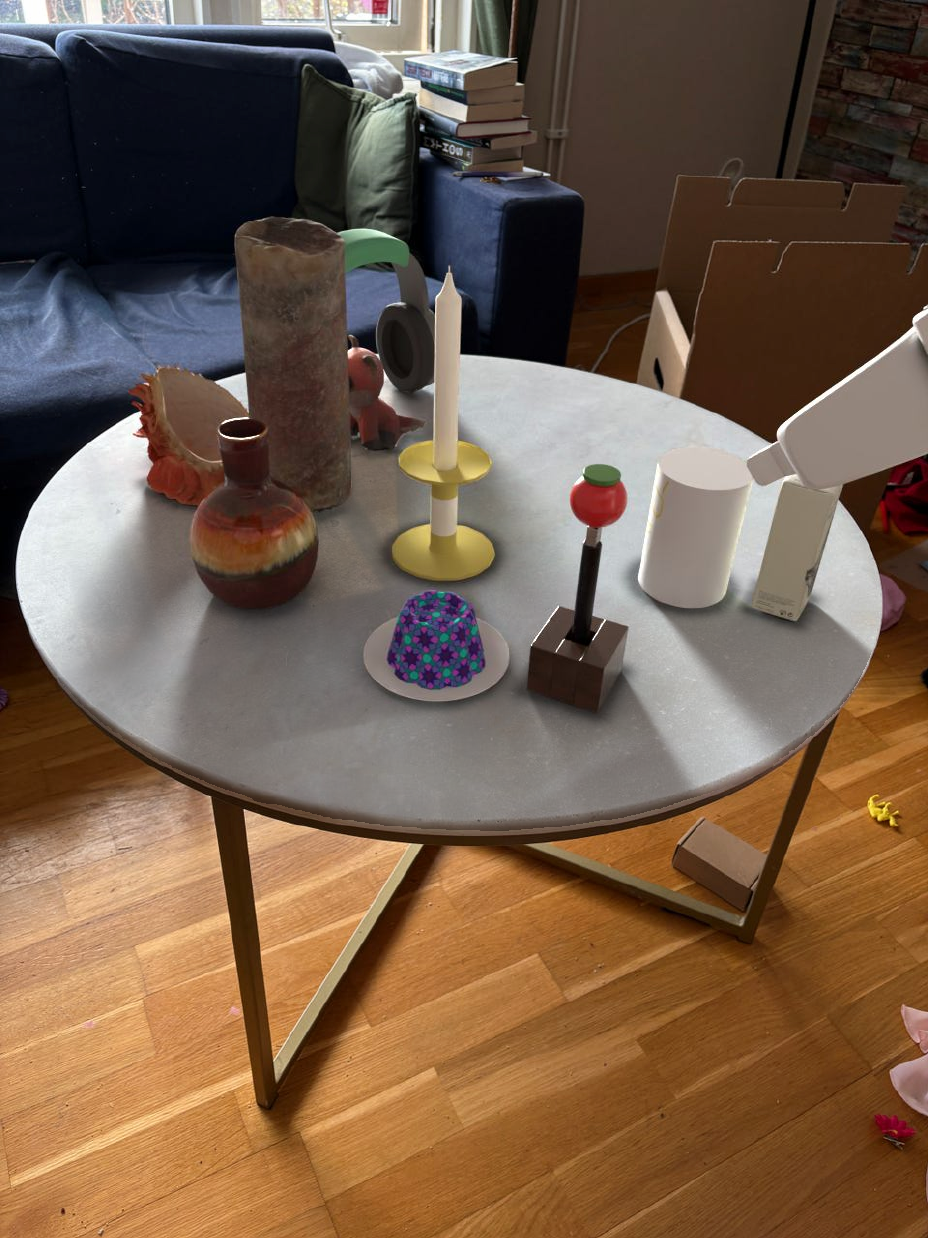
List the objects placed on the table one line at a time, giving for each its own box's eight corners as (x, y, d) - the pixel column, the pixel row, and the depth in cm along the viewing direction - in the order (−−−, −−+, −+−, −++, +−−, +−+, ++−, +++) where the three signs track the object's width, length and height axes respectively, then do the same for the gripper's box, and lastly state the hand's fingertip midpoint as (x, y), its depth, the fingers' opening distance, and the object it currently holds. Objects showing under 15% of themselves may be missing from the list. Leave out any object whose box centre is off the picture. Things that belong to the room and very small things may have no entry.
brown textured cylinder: (339, 472, 103) (326, 212, 87) (368, 515, 96) (359, 239, 80) (246, 487, 100) (214, 219, 84) (269, 533, 93) (239, 249, 77)
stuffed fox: (440, 443, 110) (442, 343, 103) (355, 466, 104) (351, 361, 97) (407, 419, 115) (406, 322, 108) (324, 440, 109) (318, 339, 102)
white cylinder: (661, 550, 92) (682, 437, 85) (739, 578, 89) (768, 464, 81) (622, 586, 87) (641, 470, 80) (704, 619, 83) (731, 500, 76)
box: (796, 624, 83) (835, 496, 75) (747, 608, 85) (780, 481, 77) (811, 596, 87) (849, 470, 79) (764, 581, 88) (797, 457, 81)
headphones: (405, 369, 128) (405, 213, 116) (452, 397, 121) (456, 234, 109) (279, 399, 118) (264, 232, 106) (322, 431, 111) (311, 257, 99)
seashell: (140, 525, 96) (287, 508, 98) (114, 431, 89) (274, 416, 91) (147, 440, 109) (277, 427, 111) (125, 352, 102) (265, 340, 104)
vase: (289, 632, 80) (273, 469, 71) (173, 607, 82) (143, 445, 73) (341, 565, 88) (332, 411, 79) (234, 544, 91) (214, 392, 82)
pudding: (488, 722, 72) (492, 669, 68) (341, 690, 74) (338, 637, 71) (523, 631, 81) (527, 581, 78) (391, 606, 83) (390, 556, 80)
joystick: (606, 673, 77) (638, 467, 66) (589, 702, 74) (620, 491, 63) (560, 658, 78) (584, 454, 67) (542, 686, 75) (564, 477, 64)
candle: (475, 520, 96) (488, 245, 80) (509, 572, 88) (530, 280, 72) (380, 533, 93) (373, 251, 77) (406, 588, 86) (404, 288, 70)
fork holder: (621, 670, 77) (629, 626, 74) (597, 713, 73) (604, 668, 70) (553, 648, 79) (558, 605, 76) (526, 689, 75) (530, 645, 72)
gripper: (1065, 224, 51) (841, 352, 61) (931, 307, 38) (679, 451, 49) (1119, 327, 51) (888, 436, 62) (1005, 443, 38) (739, 556, 49)
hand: (794, 444), depth 55 cm, fingers open, 8 cm apart
